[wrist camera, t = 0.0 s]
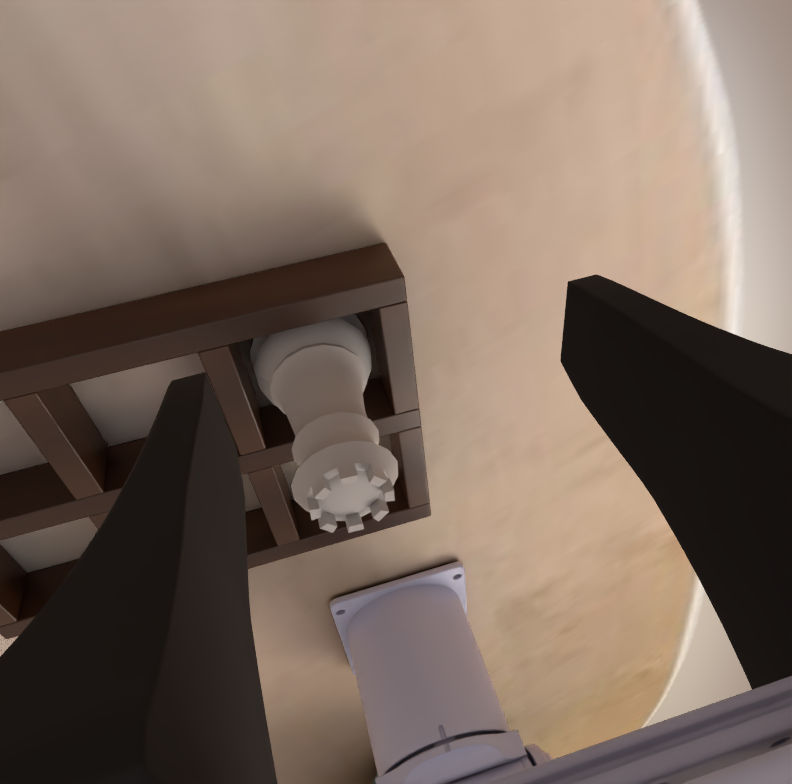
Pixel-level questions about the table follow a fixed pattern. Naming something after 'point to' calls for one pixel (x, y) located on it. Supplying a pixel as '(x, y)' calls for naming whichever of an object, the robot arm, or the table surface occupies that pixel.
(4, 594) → the rack
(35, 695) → the robot arm
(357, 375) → the rook chess piece
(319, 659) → the table surface
